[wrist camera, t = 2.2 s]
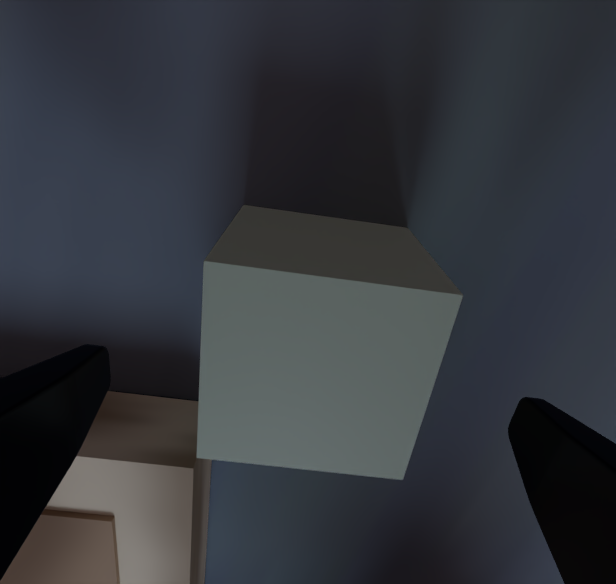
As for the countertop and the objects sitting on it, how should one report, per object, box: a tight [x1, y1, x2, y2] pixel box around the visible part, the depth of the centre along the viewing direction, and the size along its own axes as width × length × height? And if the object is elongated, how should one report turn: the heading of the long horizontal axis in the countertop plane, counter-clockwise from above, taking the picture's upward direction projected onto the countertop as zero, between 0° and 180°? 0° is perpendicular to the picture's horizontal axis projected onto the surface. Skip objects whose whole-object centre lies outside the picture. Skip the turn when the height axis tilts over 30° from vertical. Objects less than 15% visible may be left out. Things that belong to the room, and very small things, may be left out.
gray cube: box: [197, 205, 463, 480], centre depth 11 cm, size 5×5×5 cm
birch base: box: [0, 391, 212, 584], centre depth 16 cm, size 12×12×3 cm
